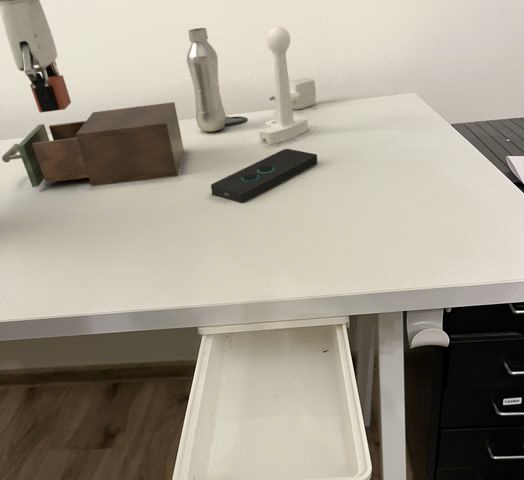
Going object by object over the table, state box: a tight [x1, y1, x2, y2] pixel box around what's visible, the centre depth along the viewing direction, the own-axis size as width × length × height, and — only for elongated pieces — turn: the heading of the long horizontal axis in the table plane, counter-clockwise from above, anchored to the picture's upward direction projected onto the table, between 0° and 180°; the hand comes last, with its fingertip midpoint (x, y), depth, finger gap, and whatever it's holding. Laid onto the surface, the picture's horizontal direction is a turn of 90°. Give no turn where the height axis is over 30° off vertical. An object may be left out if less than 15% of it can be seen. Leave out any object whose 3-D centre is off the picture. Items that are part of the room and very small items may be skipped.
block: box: [29, 74, 72, 113], centre depth 101 cm, size 5×5×5 cm
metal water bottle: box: [186, 27, 227, 132], centre depth 118 cm, size 6×7×20 cm
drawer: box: [1, 120, 89, 188], centre depth 108 cm, size 21×13×8 cm, turn 92°
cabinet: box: [76, 101, 185, 187], centre depth 107 cm, size 17×15×10 cm
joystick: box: [258, 26, 309, 145], centre depth 110 cm, size 11×8×20 cm
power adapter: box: [268, 77, 317, 110], centre depth 129 cm, size 11×5×6 cm, turn 122°
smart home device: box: [210, 148, 318, 203], centre depth 97 cm, size 8×2×20 cm
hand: (54, 105), depth 102 cm, fingers closed on block, 4 cm apart
